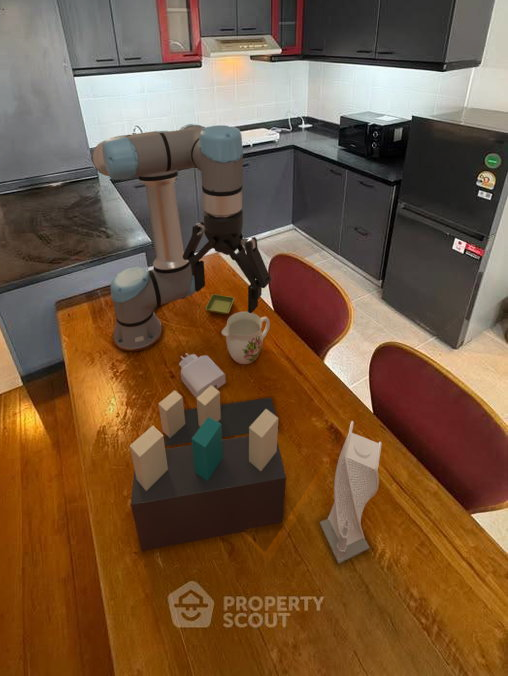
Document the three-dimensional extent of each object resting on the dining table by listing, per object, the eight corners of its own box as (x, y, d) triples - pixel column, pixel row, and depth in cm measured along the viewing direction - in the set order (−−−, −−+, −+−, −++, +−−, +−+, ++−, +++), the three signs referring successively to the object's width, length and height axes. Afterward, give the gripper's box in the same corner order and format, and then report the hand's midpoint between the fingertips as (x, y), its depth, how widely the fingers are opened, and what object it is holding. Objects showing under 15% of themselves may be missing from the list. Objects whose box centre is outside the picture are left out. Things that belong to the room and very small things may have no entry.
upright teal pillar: (194, 472, 71) (191, 438, 67) (210, 449, 75) (208, 416, 71) (207, 481, 70) (205, 447, 65) (223, 457, 74) (221, 424, 69)
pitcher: (280, 351, 119) (282, 316, 113) (234, 381, 108) (234, 345, 102) (257, 331, 126) (258, 298, 120) (212, 358, 116) (211, 323, 110)
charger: (196, 353, 118) (225, 384, 107) (170, 368, 112) (198, 403, 102) (195, 341, 116) (225, 372, 105) (169, 356, 110) (197, 391, 100)
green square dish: (235, 301, 140) (235, 297, 139) (228, 317, 132) (228, 313, 131) (212, 298, 142) (212, 293, 141) (205, 313, 134) (204, 309, 133)
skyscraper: (316, 515, 79) (329, 427, 66) (349, 500, 81) (367, 413, 69) (338, 564, 72) (357, 475, 59) (374, 546, 74) (399, 457, 62)
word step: (145, 499, 81) (128, 419, 70) (272, 477, 85) (276, 398, 74) (141, 551, 73) (122, 470, 62) (282, 524, 77) (288, 443, 66)
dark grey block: (163, 414, 99) (159, 385, 94) (271, 399, 103) (272, 371, 99) (162, 448, 91) (157, 419, 86) (279, 430, 95) (280, 401, 91)
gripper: (291, 216, 69) (285, 308, 79) (184, 189, 81) (190, 272, 90) (272, 234, 64) (268, 330, 73) (160, 202, 75) (169, 289, 84)
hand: (225, 298), depth 82 cm, fingers open, 13 cm apart
